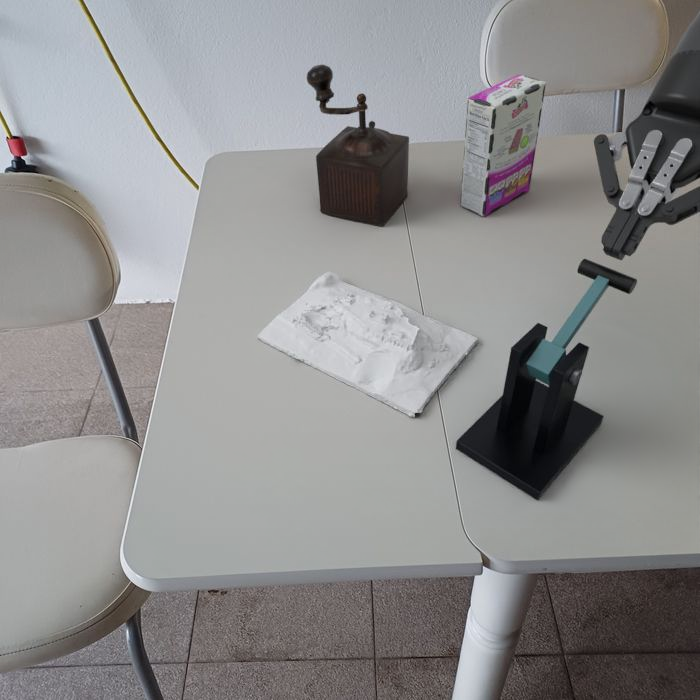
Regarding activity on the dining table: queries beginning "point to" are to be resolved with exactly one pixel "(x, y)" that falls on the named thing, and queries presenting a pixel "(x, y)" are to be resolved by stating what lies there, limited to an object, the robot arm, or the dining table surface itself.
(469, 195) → the candy bar box
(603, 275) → the switch lever
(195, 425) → the dining table surface
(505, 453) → the switch bracket
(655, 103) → the robot arm
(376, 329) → the terrain model
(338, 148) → the manual coffee grinder
